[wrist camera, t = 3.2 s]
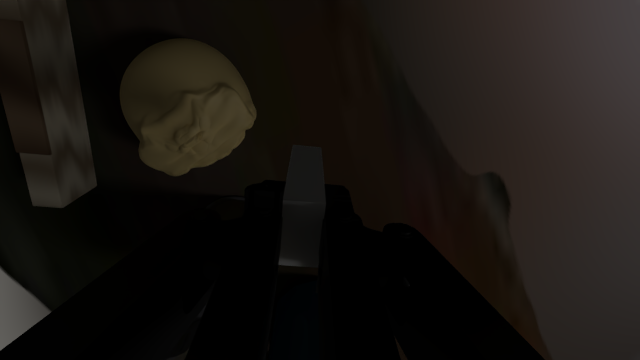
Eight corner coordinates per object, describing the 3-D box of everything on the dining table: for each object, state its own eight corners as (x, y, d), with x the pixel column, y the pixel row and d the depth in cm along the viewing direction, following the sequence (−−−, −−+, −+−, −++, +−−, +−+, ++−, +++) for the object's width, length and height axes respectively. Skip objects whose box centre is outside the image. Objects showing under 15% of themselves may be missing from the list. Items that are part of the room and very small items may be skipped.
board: (97, 185, 40) (61, 209, 34) (71, 183, 40) (30, 206, 34) (58, -44, 31) (0, -65, 25) (24, -48, 31) (-43, -70, 25)
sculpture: (202, 166, 39) (166, 206, 29) (129, 81, 35) (57, 95, 25) (278, 113, 37) (266, 137, 27) (208, 17, 33) (164, 4, 23)
